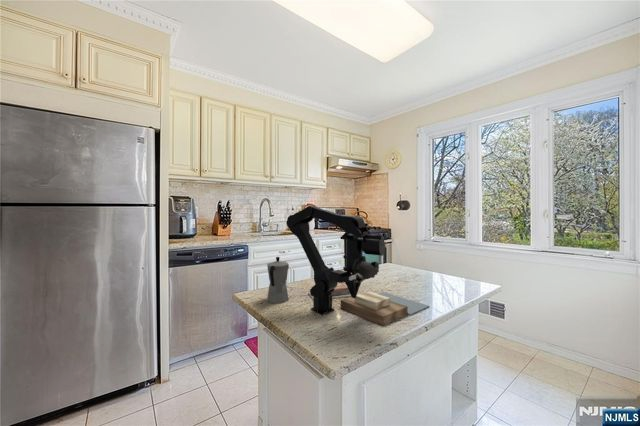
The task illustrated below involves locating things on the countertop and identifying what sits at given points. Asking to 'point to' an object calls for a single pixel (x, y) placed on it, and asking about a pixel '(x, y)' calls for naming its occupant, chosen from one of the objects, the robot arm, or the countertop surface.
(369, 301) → the cream flat block
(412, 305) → the mat
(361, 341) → the countertop surface
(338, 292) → the packaged product
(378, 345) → the countertop surface
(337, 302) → the countertop surface
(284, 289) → the coffeepot
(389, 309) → the block
